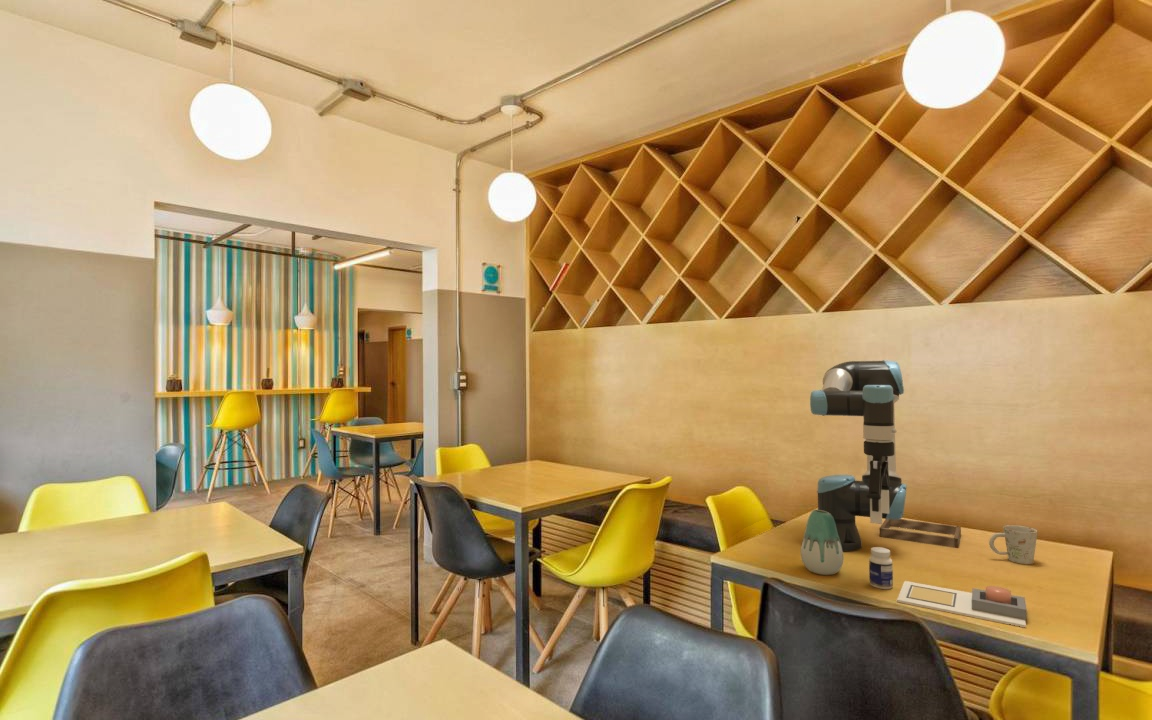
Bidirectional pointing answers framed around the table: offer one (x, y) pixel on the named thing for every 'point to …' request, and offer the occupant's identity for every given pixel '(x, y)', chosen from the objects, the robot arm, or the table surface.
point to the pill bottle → (880, 568)
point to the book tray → (921, 537)
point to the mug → (1017, 543)
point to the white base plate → (964, 603)
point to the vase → (821, 544)
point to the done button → (998, 594)
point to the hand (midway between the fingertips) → (880, 518)
